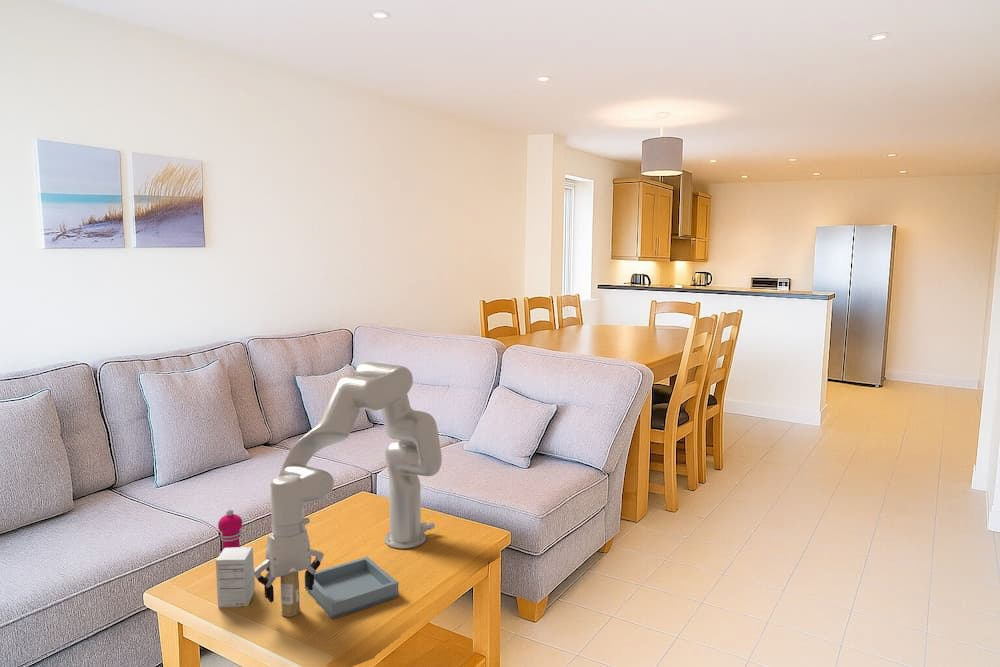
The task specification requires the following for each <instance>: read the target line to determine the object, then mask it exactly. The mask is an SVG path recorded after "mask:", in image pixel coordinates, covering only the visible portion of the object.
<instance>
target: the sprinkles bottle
mask: <svg viewBox="0 0 1000 667" xmlns="http://www.w3.org/2000/svg"><path fill="white" fill-rule="evenodd" d="M295 570H296V569H295V568H294V567H293V568H291V569H290V571H289V572H291V573H289V574H288V575H285V576H281V577H280V581H279V582H280V602H281V615H282V616H283V617H286V618H288V617H289V618H291V617H296V616H297V615H298V614H299V613H300V612H301V606H300V604H301V603H300V580H299V572H294V571H295Z"/></svg>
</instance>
